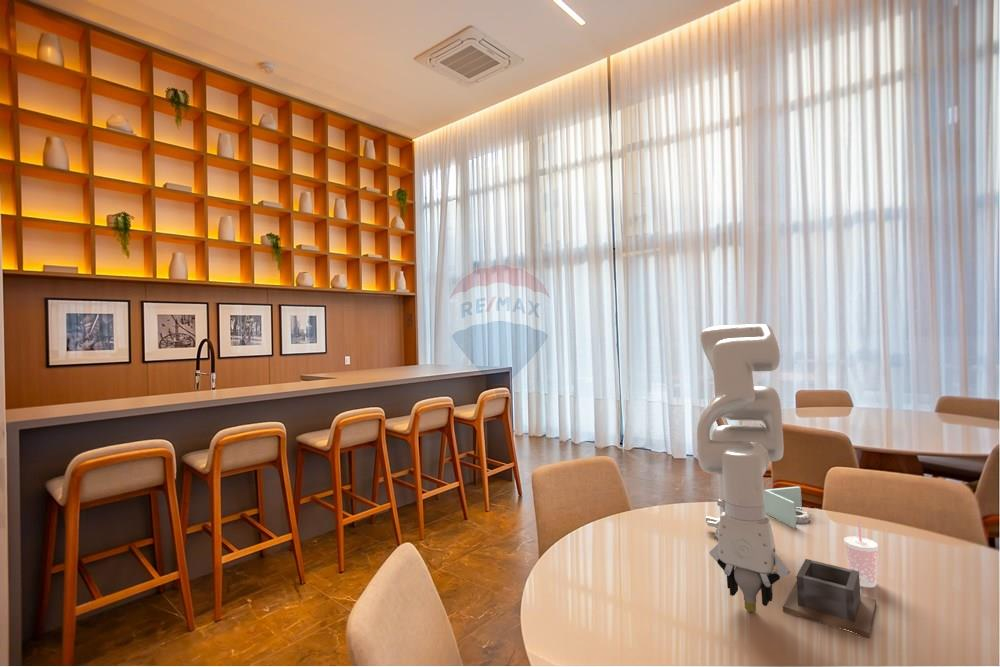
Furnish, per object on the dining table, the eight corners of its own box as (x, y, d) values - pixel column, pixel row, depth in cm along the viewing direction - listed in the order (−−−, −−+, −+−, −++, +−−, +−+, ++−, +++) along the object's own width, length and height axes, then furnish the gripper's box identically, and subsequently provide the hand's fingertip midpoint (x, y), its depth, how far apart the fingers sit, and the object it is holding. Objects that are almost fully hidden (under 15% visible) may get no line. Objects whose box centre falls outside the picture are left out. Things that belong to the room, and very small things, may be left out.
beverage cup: (871, 592, 101) (867, 527, 102) (840, 580, 107) (836, 518, 107) (886, 584, 104) (882, 520, 104) (855, 572, 110) (851, 512, 110)
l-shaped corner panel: (793, 528, 136) (792, 502, 136) (765, 513, 147) (763, 489, 148) (830, 524, 137) (829, 498, 137) (799, 509, 149) (798, 486, 149)
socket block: (783, 611, 96) (780, 577, 96) (797, 583, 106) (795, 552, 107) (869, 638, 87) (866, 600, 87) (876, 604, 97) (874, 570, 97)
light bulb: (769, 620, 93) (767, 570, 94) (740, 618, 95) (737, 568, 95) (760, 604, 99) (757, 557, 99) (732, 603, 100) (730, 556, 100)
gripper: (695, 506, 100) (700, 592, 100) (787, 525, 88) (793, 621, 88) (708, 497, 106) (713, 577, 105) (796, 513, 94) (802, 604, 94)
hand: (749, 596), depth 97 cm, fingers closed on light bulb, 5 cm apart
